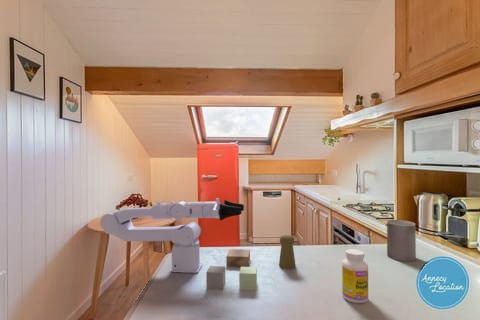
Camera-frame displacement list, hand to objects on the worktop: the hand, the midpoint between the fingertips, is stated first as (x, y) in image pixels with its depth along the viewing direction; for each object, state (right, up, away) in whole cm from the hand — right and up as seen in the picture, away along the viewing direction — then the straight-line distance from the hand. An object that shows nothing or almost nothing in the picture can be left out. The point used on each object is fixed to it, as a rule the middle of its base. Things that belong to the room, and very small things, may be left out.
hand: (242, 209), depth 95 cm
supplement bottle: (+31, -21, -20) cm, 43 cm away
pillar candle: (+62, -21, +11) cm, 67 cm away
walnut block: (-1, -22, +7) cm, 23 cm away
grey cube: (-8, -22, -11) cm, 26 cm away
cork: (+16, -22, +4) cm, 27 cm away
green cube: (+2, -21, -12) cm, 25 cm away
